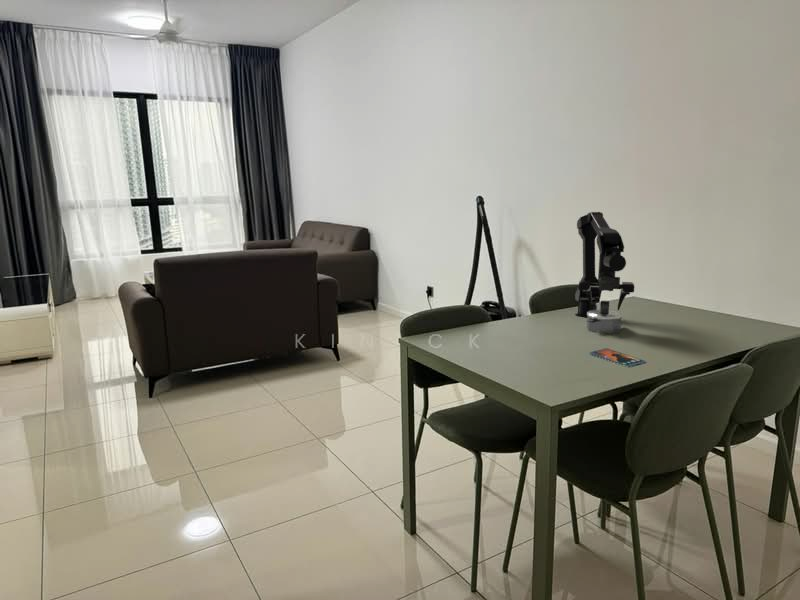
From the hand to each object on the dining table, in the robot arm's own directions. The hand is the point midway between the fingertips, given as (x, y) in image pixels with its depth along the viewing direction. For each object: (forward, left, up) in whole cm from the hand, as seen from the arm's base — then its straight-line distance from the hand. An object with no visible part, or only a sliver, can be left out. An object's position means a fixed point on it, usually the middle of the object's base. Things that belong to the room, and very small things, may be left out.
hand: (604, 309), depth 204 cm
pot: (0, 0, -8) cm, 8 cm away
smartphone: (+23, -26, -8) cm, 36 cm away
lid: (0, 0, -4) cm, 4 cm away
